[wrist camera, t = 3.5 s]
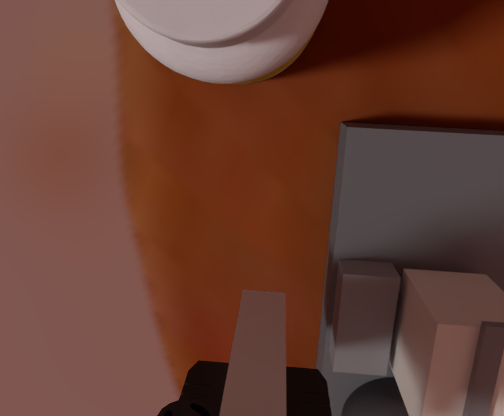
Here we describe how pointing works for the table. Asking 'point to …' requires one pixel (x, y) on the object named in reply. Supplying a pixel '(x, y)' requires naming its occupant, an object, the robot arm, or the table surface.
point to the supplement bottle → (223, 35)
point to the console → (400, 243)
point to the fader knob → (449, 344)
